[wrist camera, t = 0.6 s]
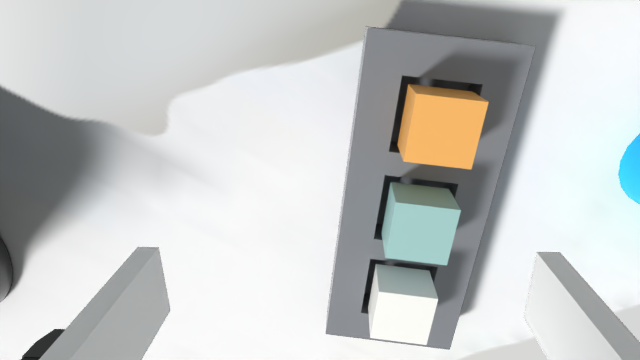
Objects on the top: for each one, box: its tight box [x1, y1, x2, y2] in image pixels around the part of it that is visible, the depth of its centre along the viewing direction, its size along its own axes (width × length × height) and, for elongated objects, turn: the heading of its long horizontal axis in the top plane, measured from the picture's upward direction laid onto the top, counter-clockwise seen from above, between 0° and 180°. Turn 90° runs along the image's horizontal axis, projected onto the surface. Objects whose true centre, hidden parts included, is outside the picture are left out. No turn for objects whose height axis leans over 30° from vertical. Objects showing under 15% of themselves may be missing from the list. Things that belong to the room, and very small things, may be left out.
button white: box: [368, 264, 438, 345], centre depth 37 cm, size 5×5×4 cm
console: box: [326, 27, 536, 350], centre depth 37 cm, size 12×28×4 cm, turn 174°
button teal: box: [382, 182, 461, 265], centre depth 34 cm, size 5×5×4 cm
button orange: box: [397, 84, 489, 169], centre depth 31 cm, size 5×5×4 cm
